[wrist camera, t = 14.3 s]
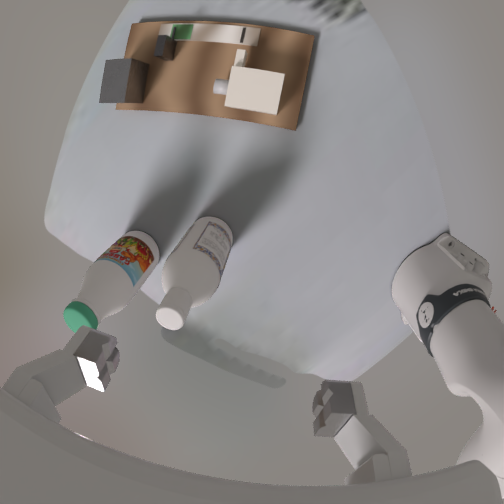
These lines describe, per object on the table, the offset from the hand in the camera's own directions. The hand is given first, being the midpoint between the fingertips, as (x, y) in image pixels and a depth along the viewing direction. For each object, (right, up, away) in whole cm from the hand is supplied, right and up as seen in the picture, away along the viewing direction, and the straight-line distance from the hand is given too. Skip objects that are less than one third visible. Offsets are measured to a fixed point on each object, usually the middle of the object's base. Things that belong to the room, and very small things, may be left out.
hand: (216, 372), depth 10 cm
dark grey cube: (-15, +28, +23) cm, 39 cm away
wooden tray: (-4, +30, +23) cm, 38 cm away
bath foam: (-5, +7, +34) cm, 35 cm away
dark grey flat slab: (-9, +33, +20) cm, 40 cm away
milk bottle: (-18, +5, +36) cm, 41 cm away
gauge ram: (+1, +26, +22) cm, 34 cm away
